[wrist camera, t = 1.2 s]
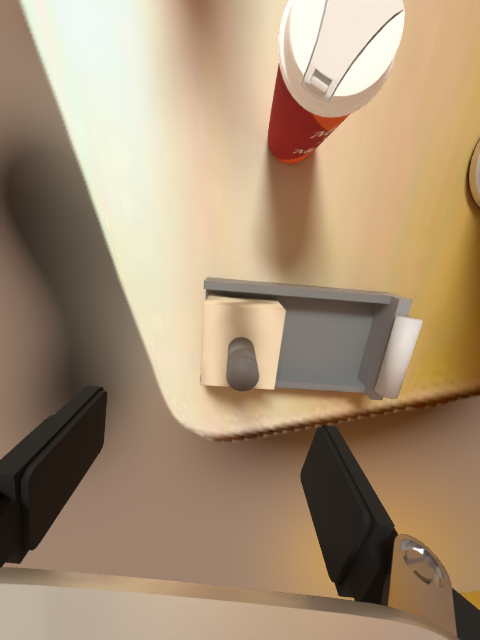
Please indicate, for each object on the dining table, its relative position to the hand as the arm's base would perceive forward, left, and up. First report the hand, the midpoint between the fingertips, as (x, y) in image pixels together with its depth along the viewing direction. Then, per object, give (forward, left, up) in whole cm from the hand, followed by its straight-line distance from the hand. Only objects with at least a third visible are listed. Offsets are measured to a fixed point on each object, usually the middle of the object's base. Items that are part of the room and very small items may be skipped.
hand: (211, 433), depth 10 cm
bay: (-10, +3, -24) cm, 26 cm away
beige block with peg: (-2, +3, -22) cm, 23 cm away
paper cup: (-6, -21, -24) cm, 32 cm away
